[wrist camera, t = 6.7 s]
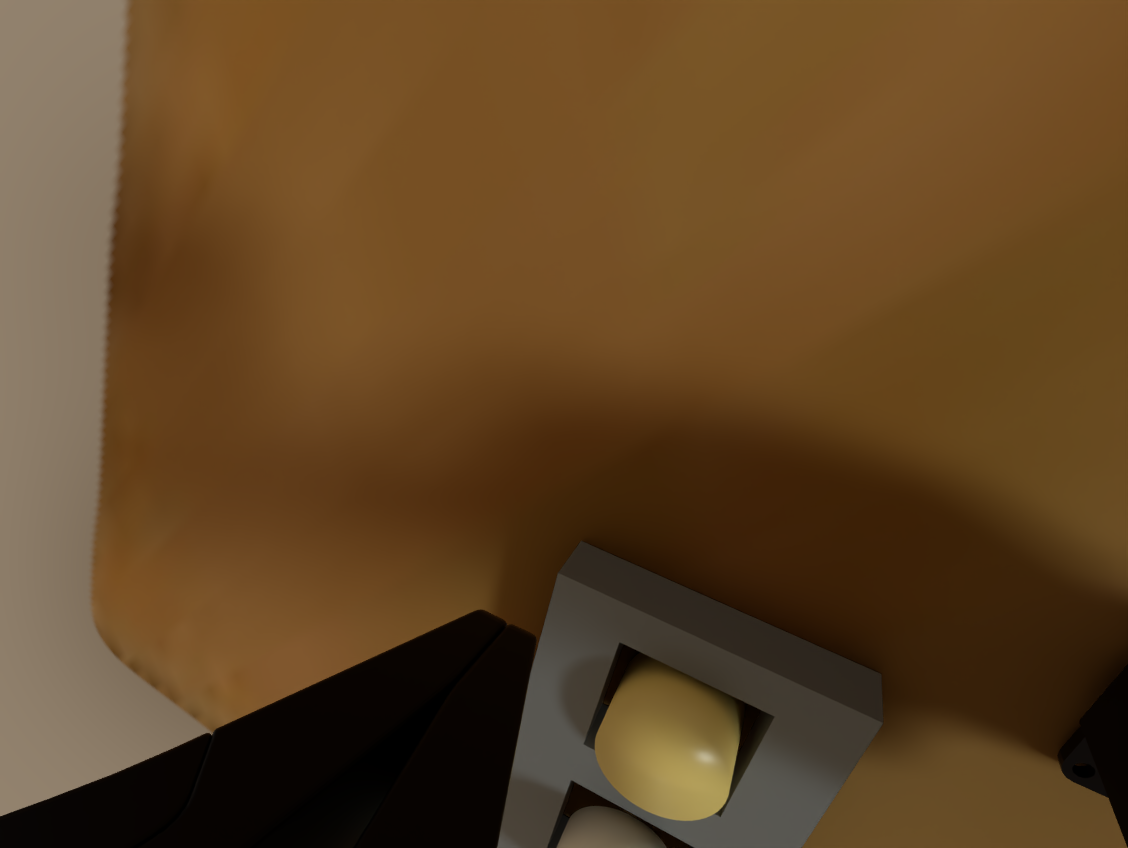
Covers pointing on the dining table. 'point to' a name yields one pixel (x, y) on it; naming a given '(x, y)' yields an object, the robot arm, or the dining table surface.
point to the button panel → (709, 654)
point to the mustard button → (670, 741)
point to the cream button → (607, 830)
